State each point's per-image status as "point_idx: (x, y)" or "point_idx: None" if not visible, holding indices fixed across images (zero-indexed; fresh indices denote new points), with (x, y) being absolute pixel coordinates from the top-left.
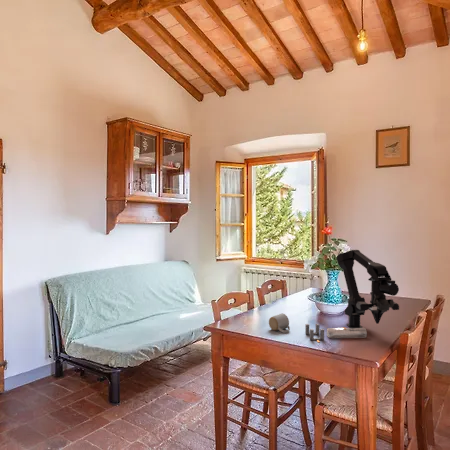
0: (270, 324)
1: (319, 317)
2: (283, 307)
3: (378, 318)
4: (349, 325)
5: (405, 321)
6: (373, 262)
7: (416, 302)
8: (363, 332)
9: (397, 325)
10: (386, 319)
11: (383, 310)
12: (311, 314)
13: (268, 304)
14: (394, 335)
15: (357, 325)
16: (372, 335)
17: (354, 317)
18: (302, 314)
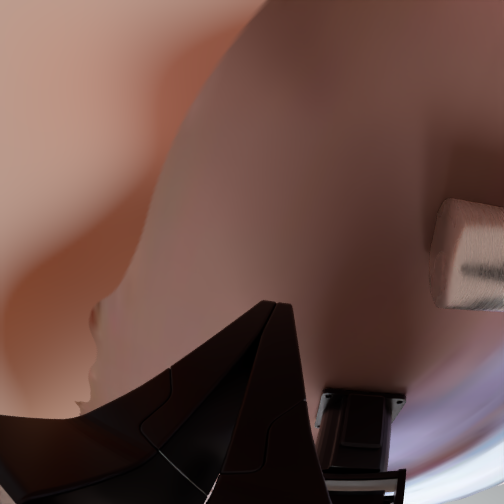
0: None
1: (422, 470)
2: (444, 496)
3: (236, 367)
4: (391, 417)
5: (100, 373)
6: None
7: None
8: (495, 219)
9: (123, 358)
10: None
11: (2, 471)
12: (422, 481)
13: (457, 499)
14: (152, 228)
15: (364, 405)
16: (343, 251)
17: (376, 461)
18: (449, 478)
